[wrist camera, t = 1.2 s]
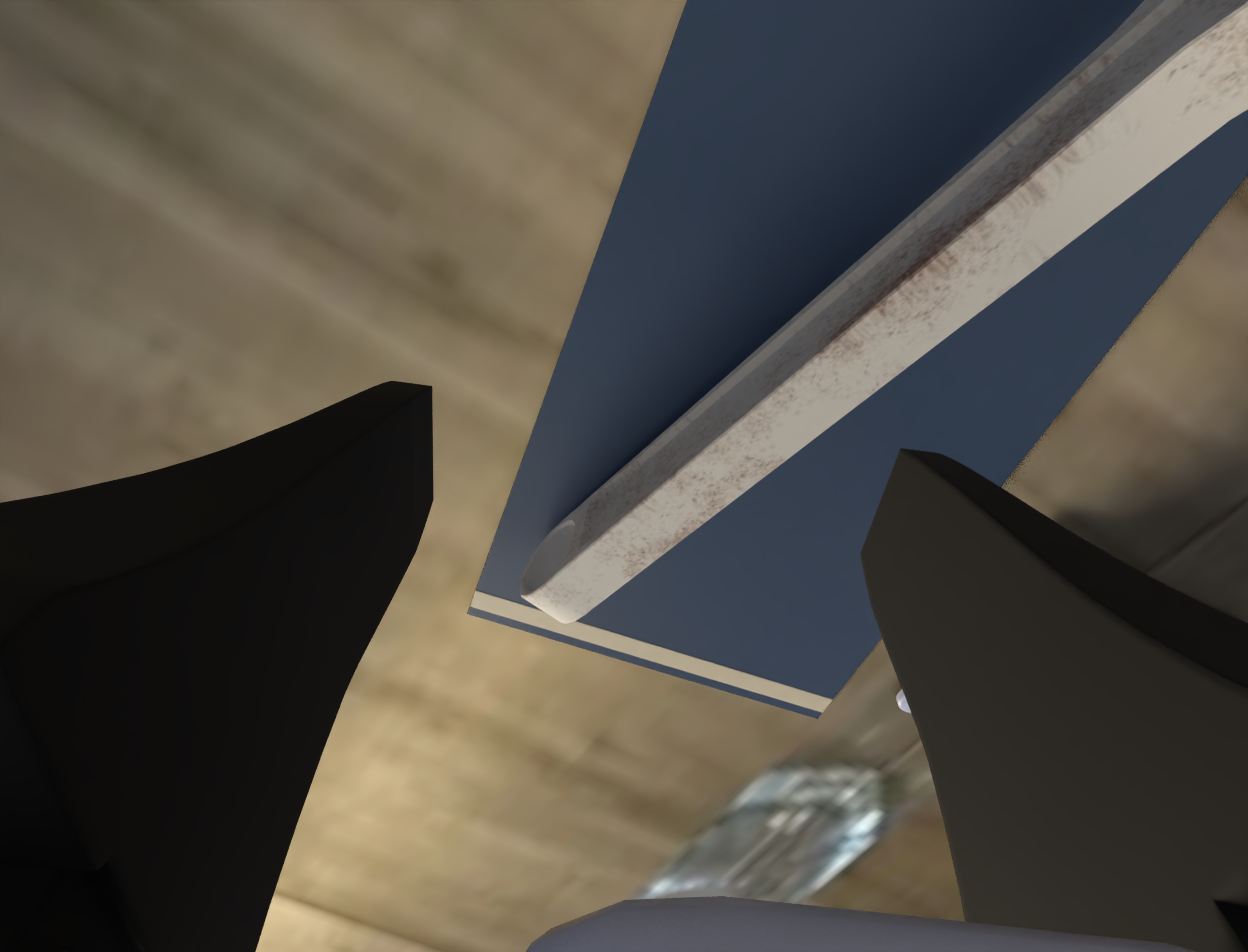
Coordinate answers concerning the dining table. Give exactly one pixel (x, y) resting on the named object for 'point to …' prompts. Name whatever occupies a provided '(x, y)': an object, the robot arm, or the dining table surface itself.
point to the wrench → (914, 288)
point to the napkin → (788, 281)
